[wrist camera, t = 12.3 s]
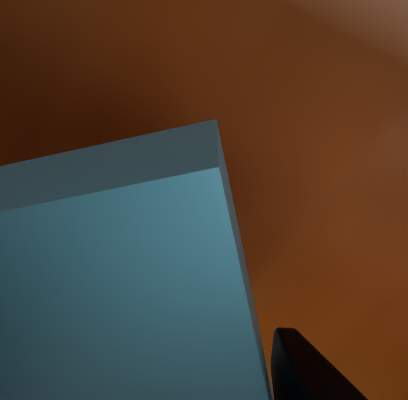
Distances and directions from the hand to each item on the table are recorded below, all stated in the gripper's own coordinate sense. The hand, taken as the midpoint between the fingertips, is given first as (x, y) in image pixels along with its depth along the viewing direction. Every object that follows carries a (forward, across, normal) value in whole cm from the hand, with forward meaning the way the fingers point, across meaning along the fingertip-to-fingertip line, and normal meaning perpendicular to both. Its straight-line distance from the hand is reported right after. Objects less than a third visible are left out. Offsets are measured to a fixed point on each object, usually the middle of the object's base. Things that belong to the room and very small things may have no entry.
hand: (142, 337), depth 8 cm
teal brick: (+1, 0, 0) cm, 1 cm away
